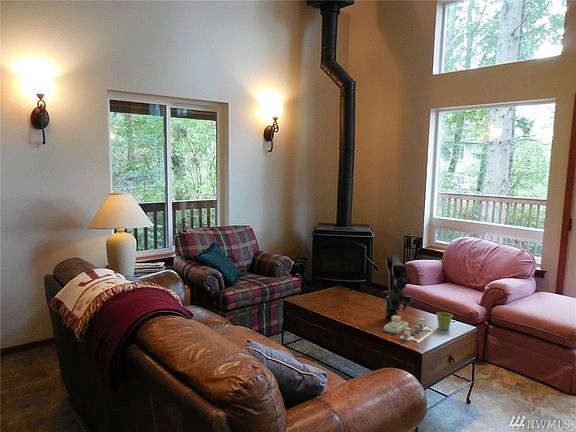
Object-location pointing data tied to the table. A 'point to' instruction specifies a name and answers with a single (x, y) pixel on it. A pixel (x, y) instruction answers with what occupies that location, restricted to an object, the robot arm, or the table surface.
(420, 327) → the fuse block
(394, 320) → the block
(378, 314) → the table surface
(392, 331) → the tray
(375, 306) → the table surface
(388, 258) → the robot arm
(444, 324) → the plant pot
